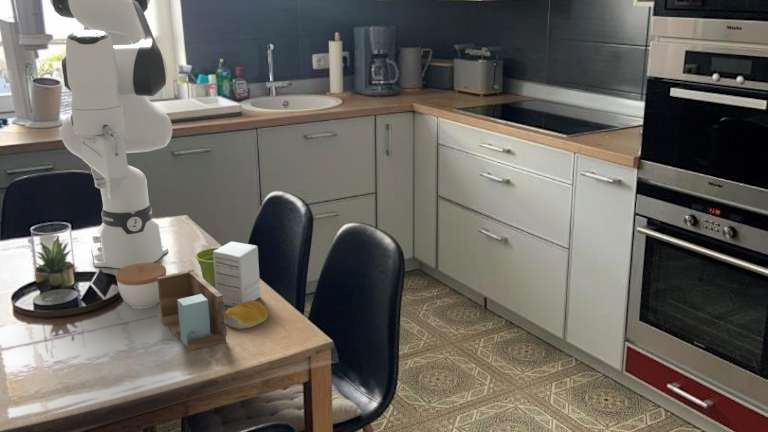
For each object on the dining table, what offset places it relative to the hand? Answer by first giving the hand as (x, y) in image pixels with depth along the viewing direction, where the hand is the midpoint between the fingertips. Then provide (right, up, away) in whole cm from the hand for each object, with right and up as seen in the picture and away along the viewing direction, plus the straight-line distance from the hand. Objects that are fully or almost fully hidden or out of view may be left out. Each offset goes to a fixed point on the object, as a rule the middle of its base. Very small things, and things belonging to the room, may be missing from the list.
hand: (107, 193), depth 147 cm
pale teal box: (+14, -30, +10) cm, 34 cm away
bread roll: (+23, -27, +19) cm, 40 cm away
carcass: (+13, -28, +13) cm, 34 cm away
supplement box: (+20, -24, +28) cm, 42 cm away
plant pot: (+14, -22, +35) cm, 43 cm away
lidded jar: (-1, -24, +27) cm, 36 cm away
